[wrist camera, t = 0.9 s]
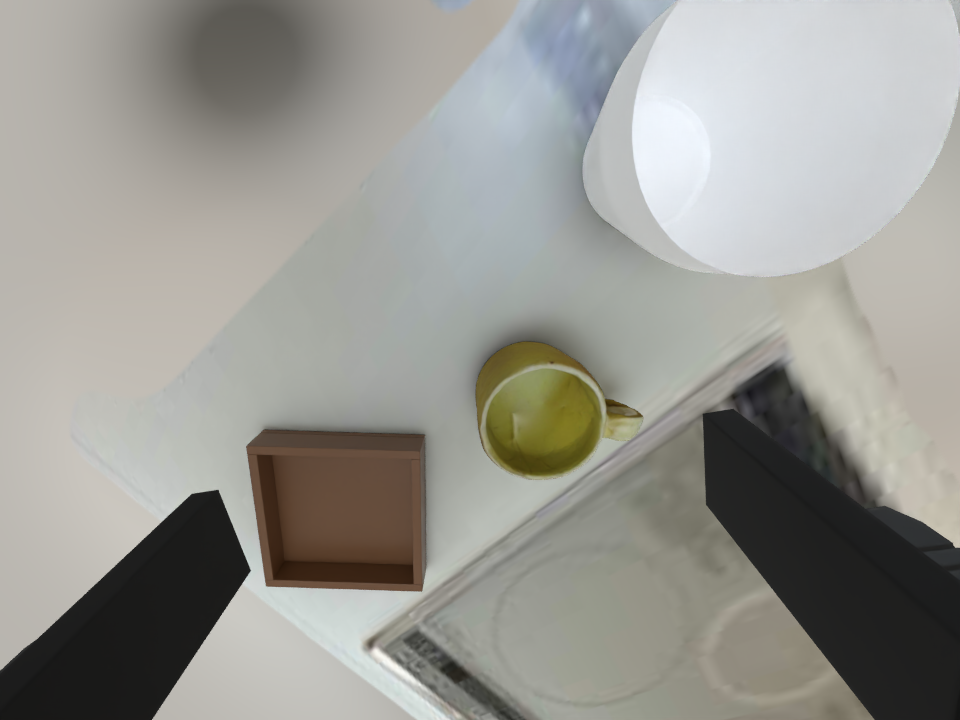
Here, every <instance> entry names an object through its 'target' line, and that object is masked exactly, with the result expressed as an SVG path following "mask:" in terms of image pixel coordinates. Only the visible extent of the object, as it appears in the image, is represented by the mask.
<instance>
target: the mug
mask: <svg viewBox="0 0 960 720" xmlns="http://www.w3.org/2000/svg"><path fill="white" fill-rule="evenodd" d="M476 406H477V420H478V429H479V435H480V439H481V443H482V446H483V449H484V451H485V452H486V454H487V455H488V457H489V458H490V459H491V460H492V461H493V462H494V463H495V464H496V465H497V466H499V467H500V468H501V469H503V470H504V471H506V472H508V473H510V474H512V475H514V476H517V477H521V478H525V479H529V480H548V479H555V478H560V477H563V476H566V475H569V474H571V473H572V472H574V471H576V470H577V469H579V468H581V467H582V466H583V465H584V464H586V463H587V462H588V461H589V460H590V459H591V458H592V456H593V454H594V453H595V452H596V450H597V448H598V445H599V444H600V442H601V440H602V438H609V439H613V440H618V441H628V440H630V439H632V438H633V437H635V436H636V435H637V433H638V431H639V429H640V426H641V424H642V422H643V416H642V415H641V414H640V413H639V412H638V411H636V410H635V409H632V408H630V407H628V406H627V405H624V404H621V403H619V402H616V401H614V400H610V399H605V398H604V395H603V392H602V389H601V388H600V386H599V384H598V383H597V381H596V380H595V379H594V377H593V376H592V375H591V374H590V373H589V372H588V371H587V369H586V368H585V367H584V366H583V365H581V364H580V363H579V362H577V361H576V360H574V359H573V358H571V357H569V356H567V355H566V354H564V353H563V352H561V351H559V350H558V349H556V348H554V347H552V346H550V345H547V344H543V343H538V342H518V343H514V344H511V345H509V346H506V347H504V348H503V349H501V350H499V351H498V352H496V353H495V354H494V355H493V356H492V357H491V358H490V359H489V360H488V361H487V362H486V363H485V365H484V366H483V368H482V370H481V372H480V374H479V376H478V380H477V383H476Z"/></svg>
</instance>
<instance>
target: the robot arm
mask: <svg viewBox="0 0 960 720" xmlns="http://www.w3.org/2000/svg"><path fill="white" fill-rule="evenodd" d="M703 430H704V458H705V486H706V505H707V506H708V508H709V509H710V510H711V511H712V513H713V514H714V515H715V516H716V518H717V519H718V520H719V522H720V523H721V524H722V525H723V527H724V528H725V529H726V531H727V532H728V533H729V534H730V536H731V537H732V538H733V539H734V541H735V542H736V543H737V545H738V546H739V547H740V548H741V550H742V551H743V552H744V553H745V555H746V556H747V557H748V559H749V560H750V561H751V562H752V564H753V565H754V566H755V568H756V569H757V570H758V571H759V573H760V574H761V575H762V576H763V578H764V579H765V580H766V582H767V583H768V584H769V585H770V587H771V588H772V589H773V590H774V592H775V593H776V594H777V596H778V597H779V598H780V599H781V601H782V602H783V603H784V605H785V606H786V607H787V608H788V610H789V611H790V612H791V613H792V615H793V616H794V617H795V619H796V620H797V621H798V622H799V624H800V625H801V626H802V627H803V629H804V630H805V631H806V633H807V634H808V635H809V636H810V638H811V639H812V640H813V642H814V643H815V644H816V645H817V647H818V648H819V649H820V650H821V652H822V653H823V654H824V656H825V657H826V658H827V659H828V661H829V662H830V663H831V664H832V666H833V667H834V668H835V670H836V671H837V672H838V673H839V675H840V676H841V677H842V679H843V680H844V681H845V682H846V684H847V685H848V686H849V687H850V689H851V690H852V691H853V693H854V694H855V695H856V696H857V698H858V699H859V700H860V701H861V703H862V704H863V705H864V707H865V708H866V709H867V710H868V712H869V713H870V714H871V716H872V717H873V718H874V719H875V720H960V548H955V547H954V546H953V543H952V542H950V541H949V540H947V539H946V538H944V537H943V536H942V535H940V534H939V533H937V532H936V531H934V530H933V529H931V528H930V527H928V526H927V525H926V524H924V523H923V522H921V521H918V520H916V519H914V518H911V517H909V516H907V515H905V514H902V513H900V512H898V511H895V510H893V509H891V508H888V507H886V506H882V507H875V508H868V509H865V508H864V507H862V506H861V505H860V504H858V503H857V502H856V501H854V500H853V499H852V498H850V497H849V496H848V495H846V494H845V493H844V492H842V491H841V490H840V489H838V488H837V487H836V486H834V485H833V484H832V483H830V482H829V481H828V480H826V479H825V478H824V477H823V476H821V475H820V474H819V473H817V472H816V471H815V470H813V469H812V468H811V467H809V466H808V465H807V464H805V463H804V462H803V461H801V460H800V459H799V458H797V457H796V456H795V455H793V454H792V453H791V452H789V451H788V450H787V449H785V448H784V447H783V446H781V445H780V444H779V443H778V442H776V441H775V440H774V439H772V438H771V437H770V436H768V435H767V434H766V433H764V432H763V431H762V430H760V429H759V428H758V427H756V426H755V425H754V424H752V423H751V422H750V421H748V420H747V419H746V418H744V417H743V416H742V415H740V414H739V413H738V412H736V411H735V410H734V409H730V410H724V411H717V412H711V413H705V414H703ZM250 571H251V570H250V568H249V565H248V563H247V560H246V558H245V555H244V553H243V550H242V548H241V545H240V543H239V540H238V538H237V535H236V533H235V530H234V528H233V525H232V523H231V520H230V518H229V515H228V513H227V510H226V508H225V505H224V503H223V500H222V498H221V495H220V493H219V490H214V491H208V492H201V493H195V494H191V495H190V496H189V497H188V498H187V499H186V500H185V501H184V502H183V503H182V504H181V505H180V506H179V507H177V508H176V509H175V510H174V511H173V512H172V513H171V514H170V515H169V516H168V517H167V518H166V519H165V520H164V521H163V522H161V523H160V524H159V525H158V526H157V527H156V528H155V529H154V530H153V531H152V532H151V533H150V534H149V535H148V536H147V537H146V538H144V539H143V540H142V541H141V542H140V543H139V544H138V545H137V546H136V547H135V548H134V549H133V550H132V551H131V552H130V553H129V554H127V555H126V556H125V557H124V558H123V559H122V560H121V561H120V562H119V563H118V564H117V565H116V566H115V567H114V568H112V569H111V570H110V571H109V572H108V573H107V574H106V575H105V576H104V577H103V578H102V579H101V580H100V581H99V582H98V583H97V584H95V585H94V586H93V587H92V588H91V589H90V590H89V591H88V592H87V593H86V594H85V595H84V596H83V597H82V598H81V599H80V600H78V601H77V602H76V603H75V604H74V605H73V606H72V607H71V608H70V609H69V610H68V611H67V612H66V613H65V614H63V615H62V616H61V617H60V618H59V619H58V620H57V621H56V622H55V623H54V624H53V625H52V626H51V627H50V628H49V629H48V630H46V632H44V633H43V634H42V635H41V636H40V637H39V638H38V639H37V640H35V641H34V642H33V643H31V644H30V645H28V646H27V647H26V648H24V649H23V650H22V651H21V652H20V653H19V654H18V655H17V656H16V657H15V658H13V659H12V660H11V661H10V662H9V663H8V664H7V665H6V666H5V667H4V668H3V669H2V670H1V671H0V720H152V719H153V717H154V716H155V714H156V713H157V711H158V710H159V708H160V707H161V705H162V704H163V702H164V701H165V699H166V698H167V696H168V695H169V693H170V692H171V690H172V688H173V687H174V685H175V684H176V683H177V681H178V680H179V678H180V676H181V675H182V674H183V672H184V670H185V669H186V668H187V666H188V664H189V663H190V662H191V660H192V658H193V657H194V655H195V654H196V652H197V651H198V649H199V648H200V646H201V645H202V643H203V642H204V640H205V639H206V637H207V636H208V634H209V633H210V631H211V630H212V628H213V627H214V625H215V624H216V622H217V621H218V619H219V618H220V616H221V615H222V613H223V612H224V610H225V609H226V607H227V606H228V604H229V603H230V601H231V600H232V598H233V597H234V595H235V594H236V592H237V591H238V589H239V588H240V586H241V585H242V583H243V582H244V580H245V579H246V577H247V576H248V574H249V573H250Z"/></svg>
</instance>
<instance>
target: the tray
mask: <svg viewBox="0 0 960 720" xmlns="http://www.w3.org/2000/svg"><path fill="white" fill-rule="evenodd" d="M246 448H247V454H248V462H249V469H250V476H251V483H252V490H253V497H254V504H255V512H256V519H257V526H258V533H259V540H260V547H261V554H262V561H263V569H264V576H265V583H266V586H268V587H298V588H329V589H359V590H390V591H422V589H423V584H424V578H425V572H426V479H425V435H415V434H382V433H350V432H317V431H285V430H263V431H262V432H261V433H260V434H259V435H258V436H256V437H255V438H254V439H253V440H252V441H251V442H250V443H249V444H248V445H247V446H246Z"/></svg>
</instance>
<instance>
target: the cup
mask: <svg viewBox="0 0 960 720" xmlns="http://www.w3.org/2000/svg"><path fill="white" fill-rule="evenodd" d="M959 87H960V37H959V32H958V26H957V21H956V18H955V14H954V11H953V8H952V4H951V2H950V0H677V1H676V2H675V3H673V4H672V5H671V6H670V7H669V8H667V9H666V10H665V11H664V12H663V13H662V14H661V15H659V16H658V17H657V18H656V19H655V20H654V22H653V23H652V24H651V25H650V26H649V27H648V28H647V29H646V30H645V31H644V33H643V34H642V35H641V36H640V38H639V39H638V40H637V42H636V43H635V45H634V46H633V47H632V49H631V50H630V52H629V53H628V55H627V56H626V58H625V60H624V61H623V63H622V65H621V67H620V69H619V70H618V72H617V74H616V76H615V79H614V81H613V83H612V85H611V87H610V90H609V92H608V95H607V97H606V99H605V102H604V104H603V107H602V109H601V112H600V114H599V117H598V119H597V121H596V124H595V126H594V129H593V131H592V134H591V136H590V139H589V141H588V144H587V147H586V150H585V154H584V159H583V168H582V175H583V184H584V188H585V192H586V195H587V197H588V200H589V202H590V203H591V205H592V207H593V208H594V210H595V211H596V212H597V213H598V215H599V216H600V217H601V218H603V219H604V220H605V221H606V222H608V223H609V224H610V225H612V226H613V227H614V228H616V229H617V230H618V231H620V232H621V233H623V234H624V235H625V236H627V237H628V238H629V239H631V240H632V241H634V242H635V243H636V244H638V245H639V246H640V247H642V248H643V249H645V250H646V251H648V252H649V253H651V254H652V255H654V256H656V257H657V258H659V259H661V260H663V261H666V262H668V263H670V264H672V265H675V266H678V267H681V268H684V269H687V270H692V271H697V272H705V273H723V274H733V275H742V276H751V277H776V276H785V275H791V274H796V273H800V272H804V271H808V270H811V269H814V268H817V267H820V266H822V265H825V264H828V263H830V262H832V261H834V260H836V259H838V258H840V257H842V256H844V255H846V254H847V253H849V252H851V251H853V250H854V249H856V248H857V247H859V246H860V245H862V244H863V243H865V242H866V241H868V240H869V239H870V238H872V237H873V236H874V235H875V234H877V233H878V232H879V231H880V230H882V229H883V228H884V227H885V226H886V225H887V224H888V223H889V222H890V221H891V220H892V219H893V218H894V217H895V216H896V215H897V214H898V213H899V212H900V211H901V210H902V209H903V208H904V207H905V206H906V204H907V203H908V202H909V201H910V199H911V198H912V197H913V195H914V194H915V193H916V192H917V191H918V189H919V187H920V186H921V185H922V183H923V181H924V180H925V179H926V177H927V176H928V174H929V172H930V170H931V169H932V167H933V165H934V163H935V162H936V160H937V158H938V156H939V153H940V151H941V149H942V147H943V145H944V143H945V140H946V137H947V134H948V132H949V129H950V127H951V123H952V119H953V116H954V112H955V109H956V104H957V99H958V94H959Z"/></svg>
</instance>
